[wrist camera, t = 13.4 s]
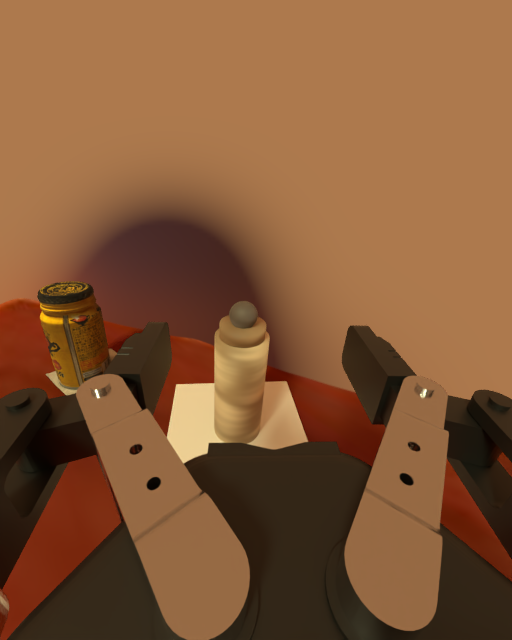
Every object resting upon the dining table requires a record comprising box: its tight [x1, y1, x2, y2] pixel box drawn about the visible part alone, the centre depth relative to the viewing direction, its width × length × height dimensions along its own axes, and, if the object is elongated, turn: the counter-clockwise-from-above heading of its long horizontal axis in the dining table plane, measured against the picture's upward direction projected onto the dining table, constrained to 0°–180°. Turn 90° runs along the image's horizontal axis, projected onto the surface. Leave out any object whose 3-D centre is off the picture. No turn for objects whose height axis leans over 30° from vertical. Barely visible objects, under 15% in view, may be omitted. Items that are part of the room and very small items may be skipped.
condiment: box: [38, 281, 117, 395], centre depth 35 cm, size 7×8×12 cm
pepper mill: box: [214, 301, 270, 444], centre depth 27 cm, size 5×5×14 cm
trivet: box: [167, 381, 308, 463], centre depth 30 cm, size 14×14×1 cm
